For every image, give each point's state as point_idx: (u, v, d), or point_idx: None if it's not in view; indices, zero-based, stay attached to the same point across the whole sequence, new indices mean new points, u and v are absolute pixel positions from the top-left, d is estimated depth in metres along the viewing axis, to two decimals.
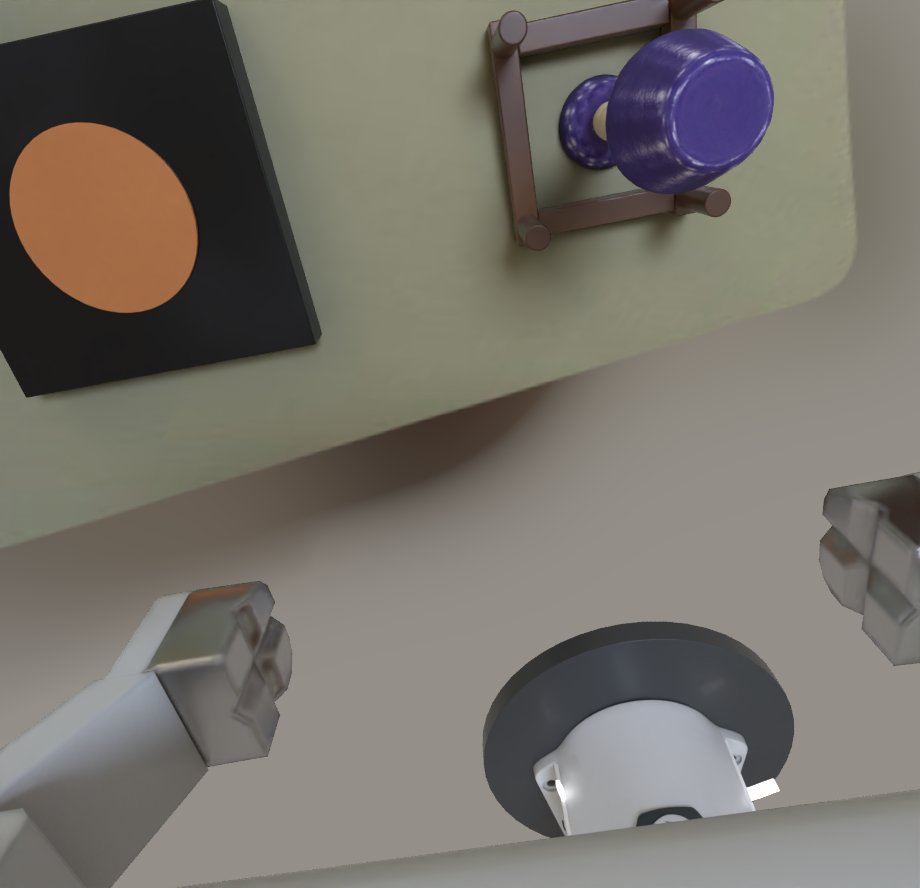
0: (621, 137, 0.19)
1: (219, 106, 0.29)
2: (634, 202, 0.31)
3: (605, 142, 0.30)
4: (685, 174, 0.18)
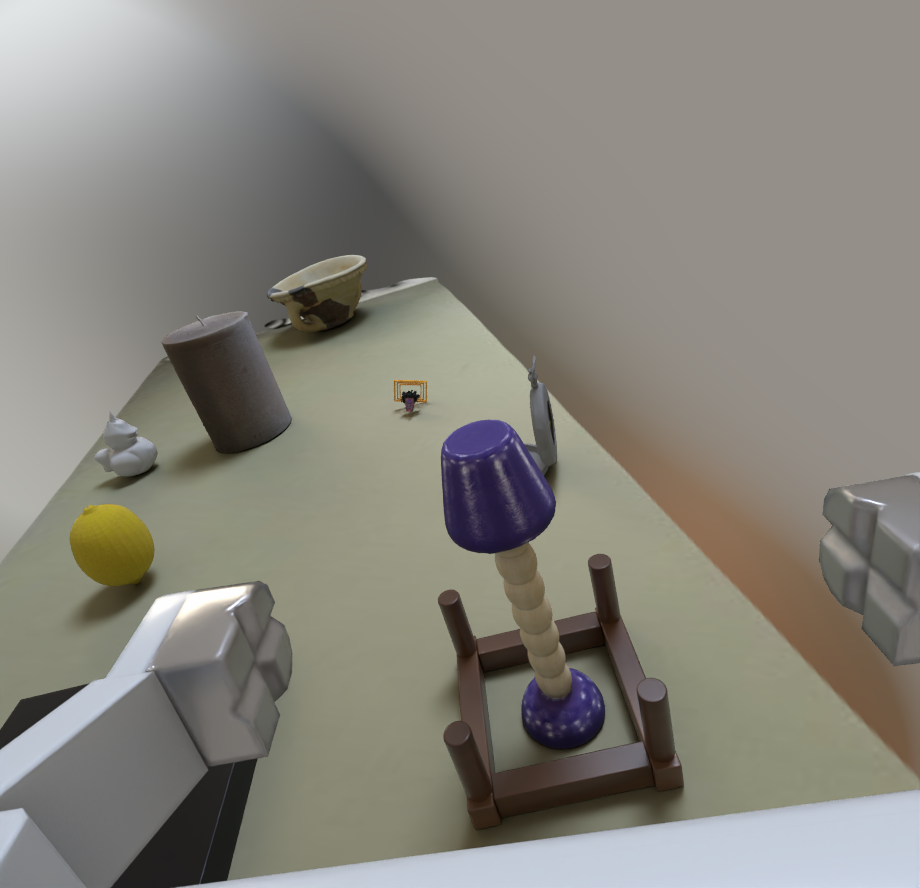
0: (444, 506, 0.25)
1: None
2: (599, 758, 0.27)
3: (555, 703, 0.30)
4: (465, 475, 0.23)
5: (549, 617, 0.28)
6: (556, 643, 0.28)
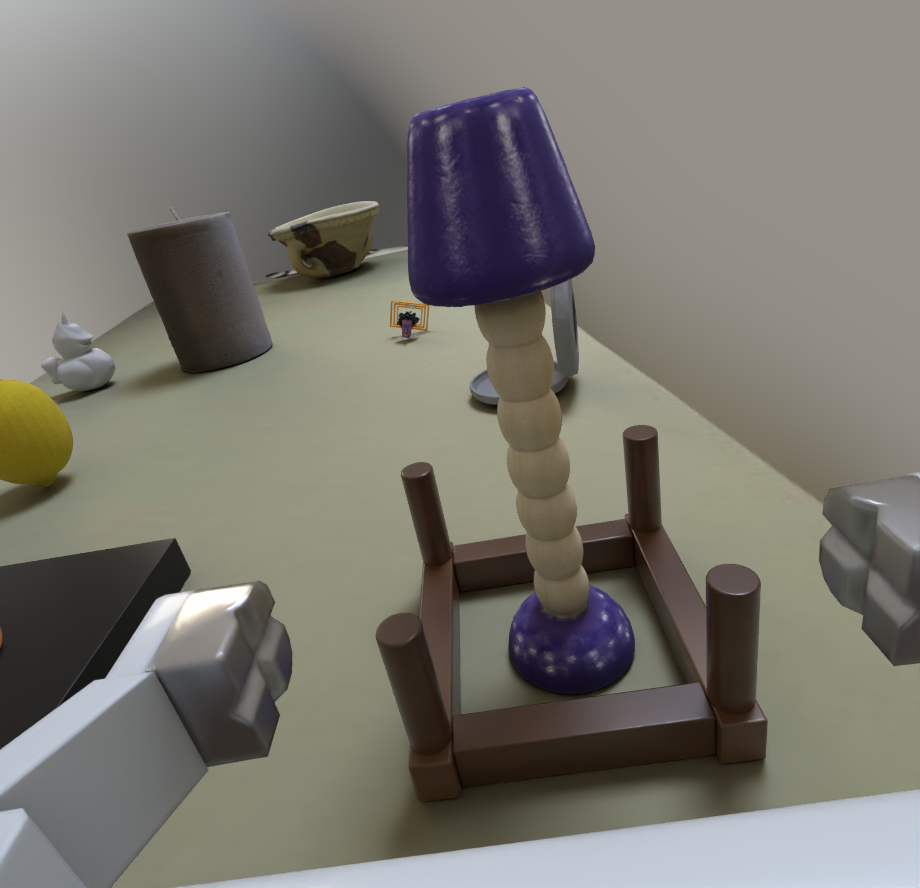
0: None
1: (107, 600, 0.25)
2: (629, 703, 0.17)
3: (562, 623, 0.20)
4: (443, 143, 0.13)
5: (565, 470, 0.17)
6: (572, 520, 0.18)
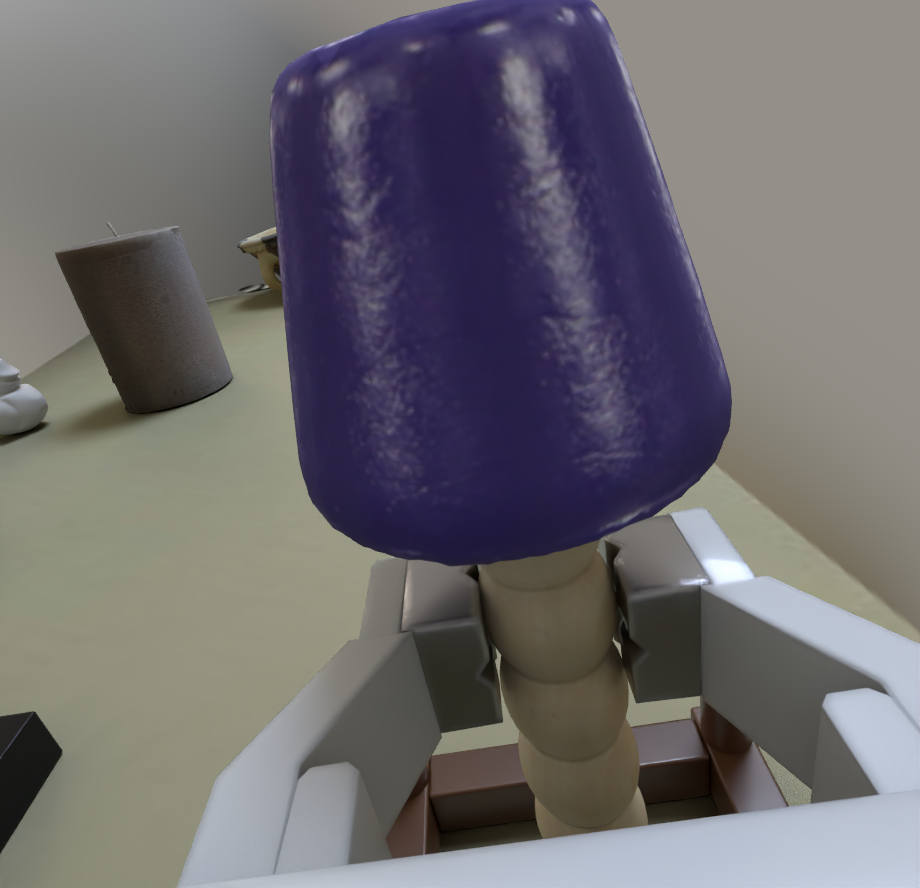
0: None
1: None
2: None
3: None
4: (346, 144, 0.04)
5: (634, 784, 0.09)
6: None
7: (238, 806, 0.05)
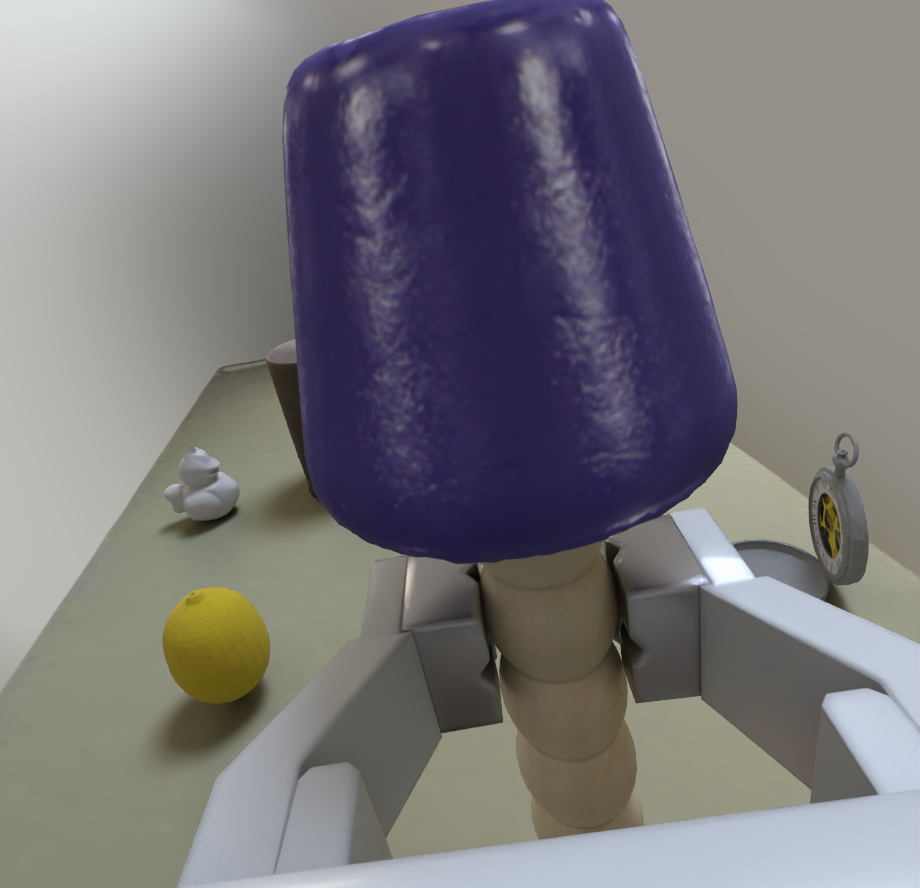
0: None
1: None
2: None
3: None
4: (361, 140, 0.04)
5: (631, 784, 0.09)
6: None
7: (238, 806, 0.05)
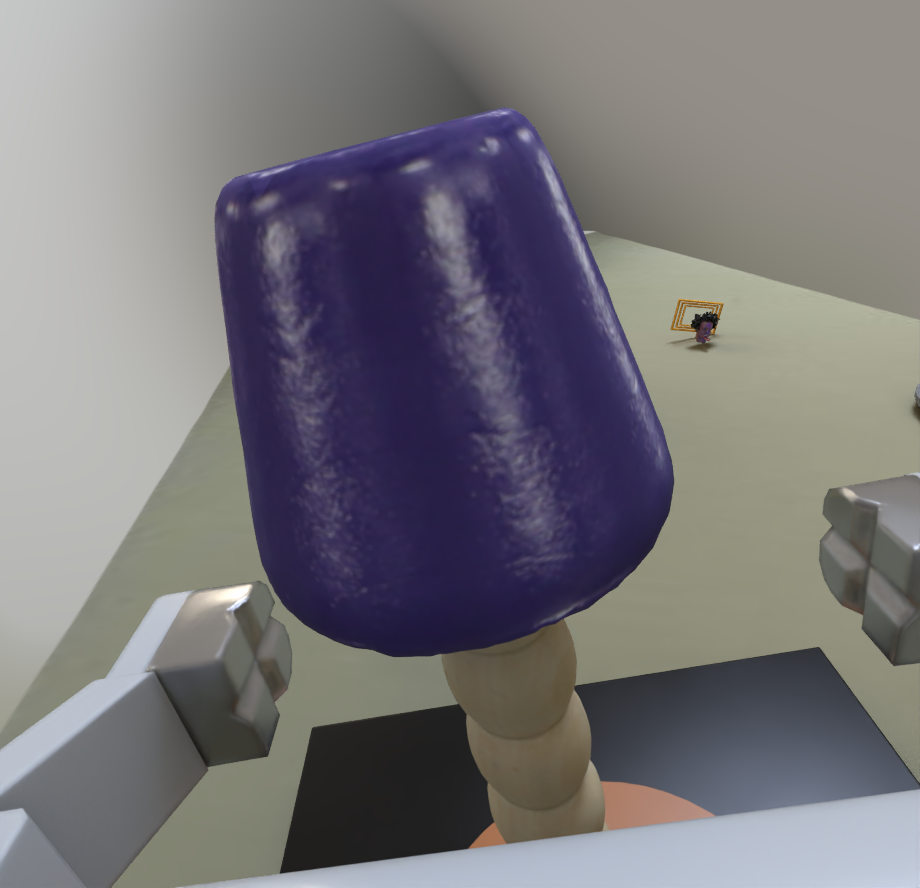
0: None
1: (859, 767, 0.16)
2: None
3: None
4: (279, 272, 0.05)
5: (598, 829, 0.09)
6: None
7: None
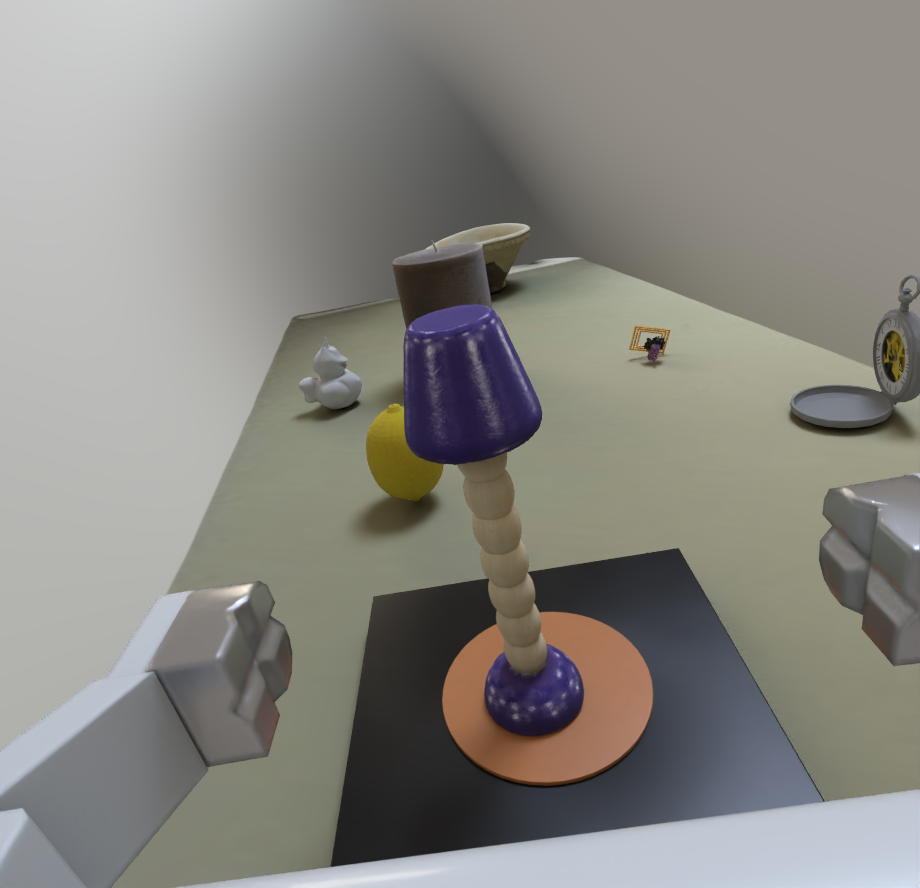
0: (404, 407, 0.20)
1: (683, 601, 0.30)
2: None
3: (525, 679, 0.25)
4: (429, 357, 0.18)
5: (524, 567, 0.23)
6: (531, 602, 0.23)
7: None
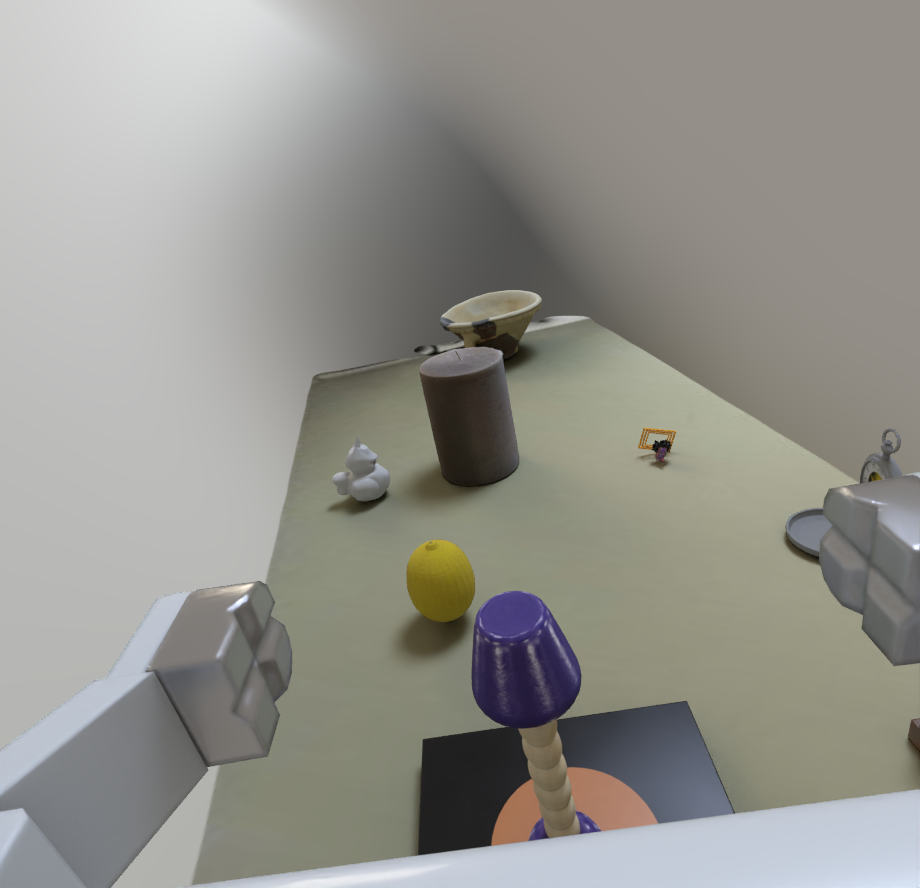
0: (472, 671, 0.26)
1: (691, 761, 0.35)
2: None
3: None
4: (497, 655, 0.24)
5: (564, 776, 0.28)
6: (568, 799, 0.29)
7: None
